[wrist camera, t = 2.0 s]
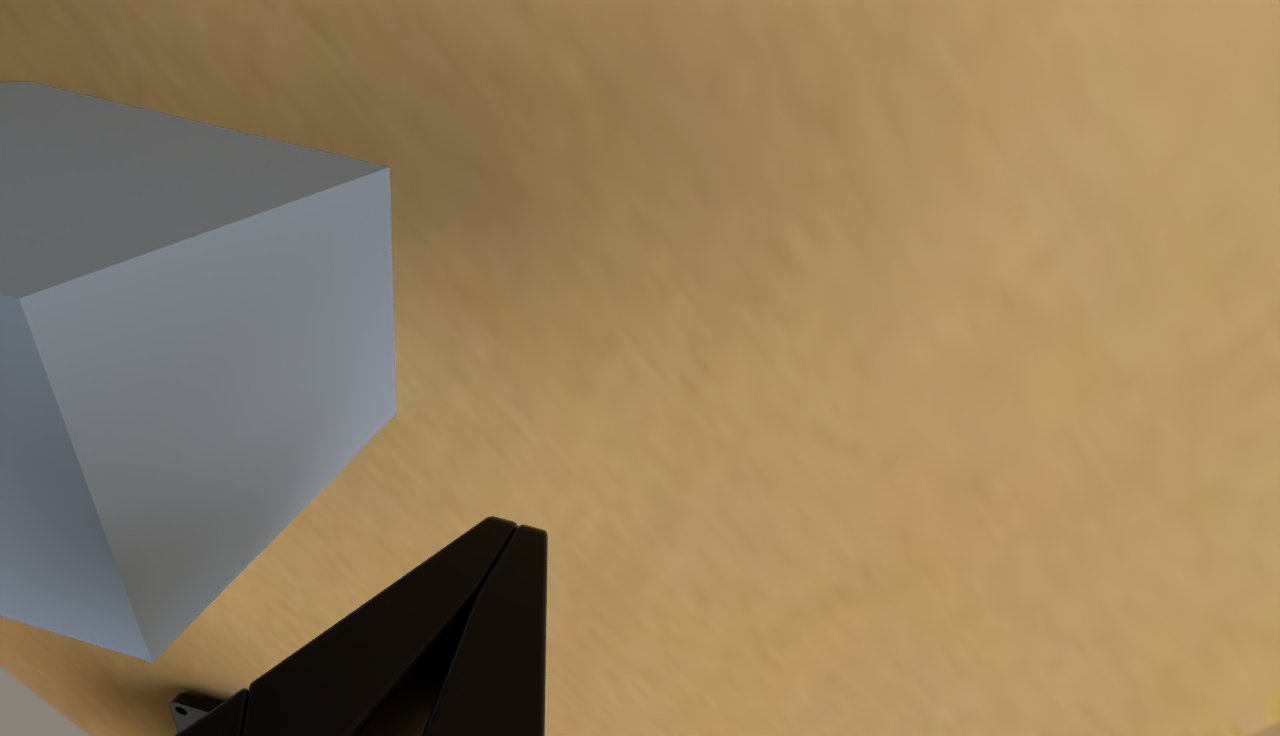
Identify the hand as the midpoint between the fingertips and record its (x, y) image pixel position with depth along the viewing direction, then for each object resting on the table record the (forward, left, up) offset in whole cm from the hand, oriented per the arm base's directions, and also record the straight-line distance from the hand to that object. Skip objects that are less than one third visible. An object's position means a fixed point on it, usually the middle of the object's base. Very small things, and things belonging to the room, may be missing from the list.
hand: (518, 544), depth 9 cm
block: (0, +9, -6) cm, 11 cm away
